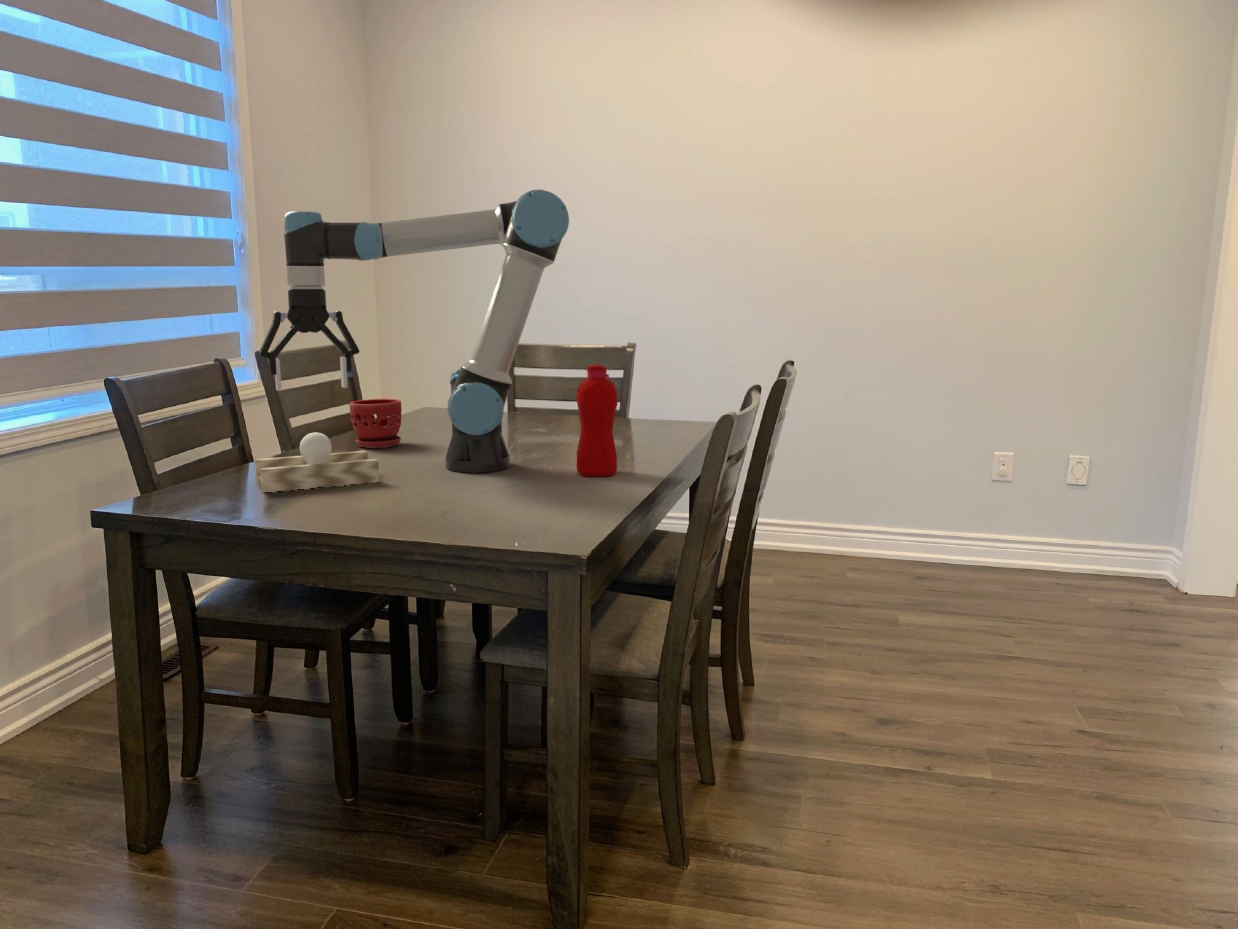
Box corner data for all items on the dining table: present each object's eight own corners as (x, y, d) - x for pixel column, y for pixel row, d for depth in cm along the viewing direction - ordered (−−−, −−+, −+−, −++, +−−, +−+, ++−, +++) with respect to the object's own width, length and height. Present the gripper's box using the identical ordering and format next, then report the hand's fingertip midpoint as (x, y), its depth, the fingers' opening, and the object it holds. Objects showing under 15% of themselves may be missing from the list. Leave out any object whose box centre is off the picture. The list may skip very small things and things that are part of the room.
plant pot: (410, 442, 256) (408, 398, 253) (390, 451, 243) (388, 404, 241) (365, 440, 258) (362, 396, 255) (343, 449, 245) (340, 403, 243)
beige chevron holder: (366, 471, 218) (365, 450, 217) (379, 482, 208) (378, 460, 207) (256, 481, 207) (254, 459, 206) (263, 493, 197) (261, 469, 196)
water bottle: (625, 477, 215) (626, 367, 210) (577, 477, 214) (577, 366, 209) (622, 469, 224) (623, 362, 219) (576, 469, 223) (575, 362, 218)
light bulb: (296, 482, 207) (292, 432, 205) (323, 477, 212) (320, 428, 210) (311, 487, 203) (308, 436, 201) (339, 482, 208) (336, 432, 205)
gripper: (362, 287, 208) (366, 384, 212) (240, 287, 196) (247, 389, 201) (370, 288, 201) (374, 387, 206) (245, 288, 190) (252, 393, 194)
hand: (312, 388), depth 203 cm, fingers open, 13 cm apart
